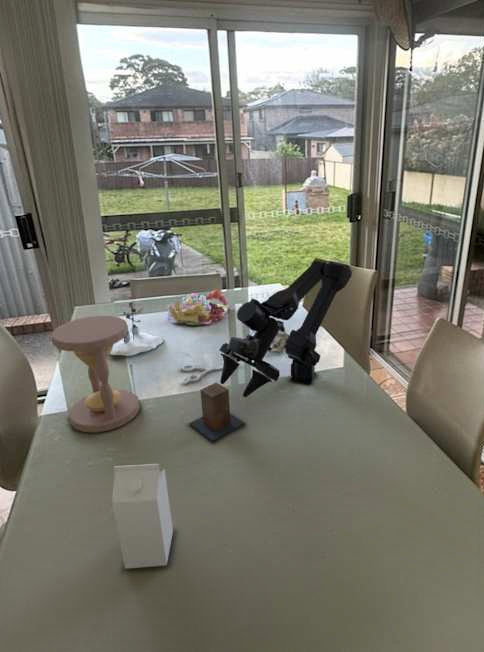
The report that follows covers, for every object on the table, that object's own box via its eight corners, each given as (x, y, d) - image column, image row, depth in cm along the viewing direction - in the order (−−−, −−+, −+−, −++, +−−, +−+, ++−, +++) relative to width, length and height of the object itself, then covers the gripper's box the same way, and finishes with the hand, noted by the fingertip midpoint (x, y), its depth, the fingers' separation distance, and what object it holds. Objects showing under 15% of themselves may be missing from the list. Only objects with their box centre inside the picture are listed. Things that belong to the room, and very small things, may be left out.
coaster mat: (220, 409, 120) (220, 407, 120) (244, 424, 113) (244, 422, 113) (189, 425, 113) (189, 423, 113) (213, 442, 107) (212, 440, 107)
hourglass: (71, 403, 123) (53, 321, 114) (136, 390, 129) (124, 311, 120) (69, 440, 108) (48, 349, 99) (143, 423, 114) (130, 335, 105)
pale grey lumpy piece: (298, 344, 151) (290, 333, 149) (274, 363, 150) (265, 352, 148) (277, 323, 174) (270, 314, 172) (256, 339, 173) (249, 330, 171)
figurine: (138, 361, 144) (134, 313, 140) (93, 354, 149) (88, 307, 145) (172, 341, 162) (170, 299, 158) (131, 336, 168) (127, 294, 163)
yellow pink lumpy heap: (221, 327, 172) (220, 305, 169) (162, 327, 172) (159, 305, 169) (230, 304, 195) (229, 284, 192) (177, 304, 196) (175, 285, 192)
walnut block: (218, 415, 117) (216, 382, 113) (230, 422, 113) (228, 389, 110) (203, 423, 113) (200, 389, 110) (215, 431, 110) (212, 397, 106)
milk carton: (134, 534, 82) (119, 452, 75) (173, 532, 83) (162, 449, 76) (124, 569, 76) (107, 482, 69) (166, 566, 76) (154, 479, 69)
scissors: (177, 367, 141) (236, 354, 148) (177, 369, 141) (237, 356, 148) (183, 382, 132) (246, 369, 139) (183, 385, 132) (247, 371, 139)
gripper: (222, 315, 118) (191, 366, 114) (270, 335, 105) (237, 393, 102) (246, 333, 126) (217, 381, 123) (293, 353, 114) (263, 407, 110)
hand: (232, 389), depth 114 cm, fingers open, 9 cm apart
